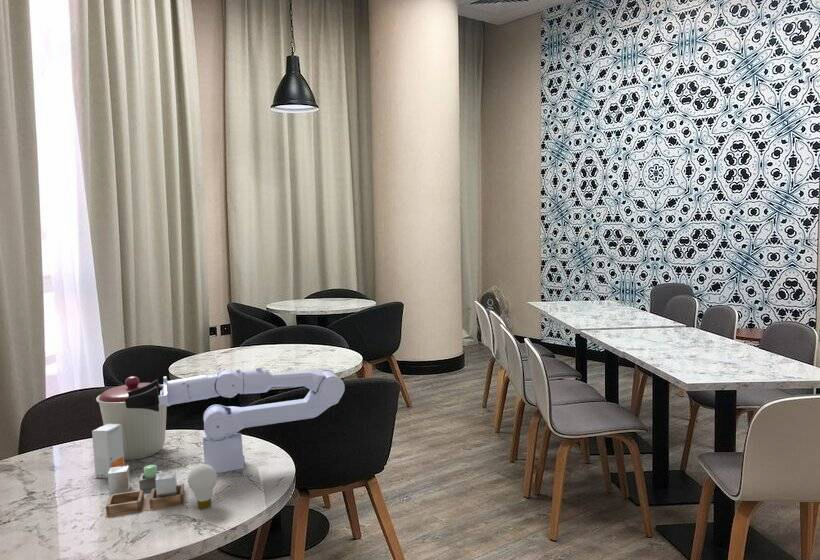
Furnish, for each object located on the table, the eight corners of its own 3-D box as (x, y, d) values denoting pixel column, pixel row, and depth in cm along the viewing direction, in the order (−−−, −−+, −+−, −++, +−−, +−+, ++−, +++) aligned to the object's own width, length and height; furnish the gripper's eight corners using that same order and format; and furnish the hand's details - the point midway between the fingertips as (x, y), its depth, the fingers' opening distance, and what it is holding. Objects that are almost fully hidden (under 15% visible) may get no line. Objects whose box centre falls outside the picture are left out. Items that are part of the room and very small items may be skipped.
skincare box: (110, 479, 164) (106, 431, 163) (95, 478, 165) (90, 430, 164) (126, 470, 170) (122, 423, 169) (110, 469, 171) (106, 423, 170)
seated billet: (177, 494, 150) (175, 470, 149) (177, 501, 146) (175, 477, 146) (158, 497, 149) (156, 473, 148) (157, 504, 145) (155, 480, 144)
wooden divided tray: (185, 494, 153) (184, 482, 152) (184, 509, 145) (183, 496, 144) (110, 505, 148) (109, 493, 148) (105, 521, 140) (104, 508, 140)
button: (158, 480, 158) (157, 464, 157) (157, 485, 155) (156, 468, 155) (145, 482, 157) (144, 465, 156) (144, 486, 154) (143, 469, 154)
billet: (130, 488, 157) (129, 465, 156) (129, 494, 153) (127, 471, 152) (112, 491, 155) (110, 467, 155) (109, 497, 152) (107, 473, 151)
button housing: (163, 485, 159) (162, 470, 159) (161, 492, 154) (160, 477, 154) (142, 488, 158) (141, 473, 157) (140, 495, 153) (139, 480, 153)
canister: (125, 442, 192) (119, 369, 190) (185, 442, 190) (180, 368, 188) (86, 465, 175) (79, 385, 173) (152, 466, 172) (145, 384, 170)
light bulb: (203, 519, 139) (199, 472, 138) (184, 513, 142) (180, 467, 141) (225, 508, 144) (222, 462, 143) (206, 503, 147) (202, 458, 146)
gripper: (186, 368, 169) (127, 377, 165) (185, 378, 155) (121, 389, 151) (189, 396, 169) (131, 406, 165) (189, 408, 156) (126, 419, 151)
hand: (127, 399), depth 158 cm, fingers open, 7 cm apart
